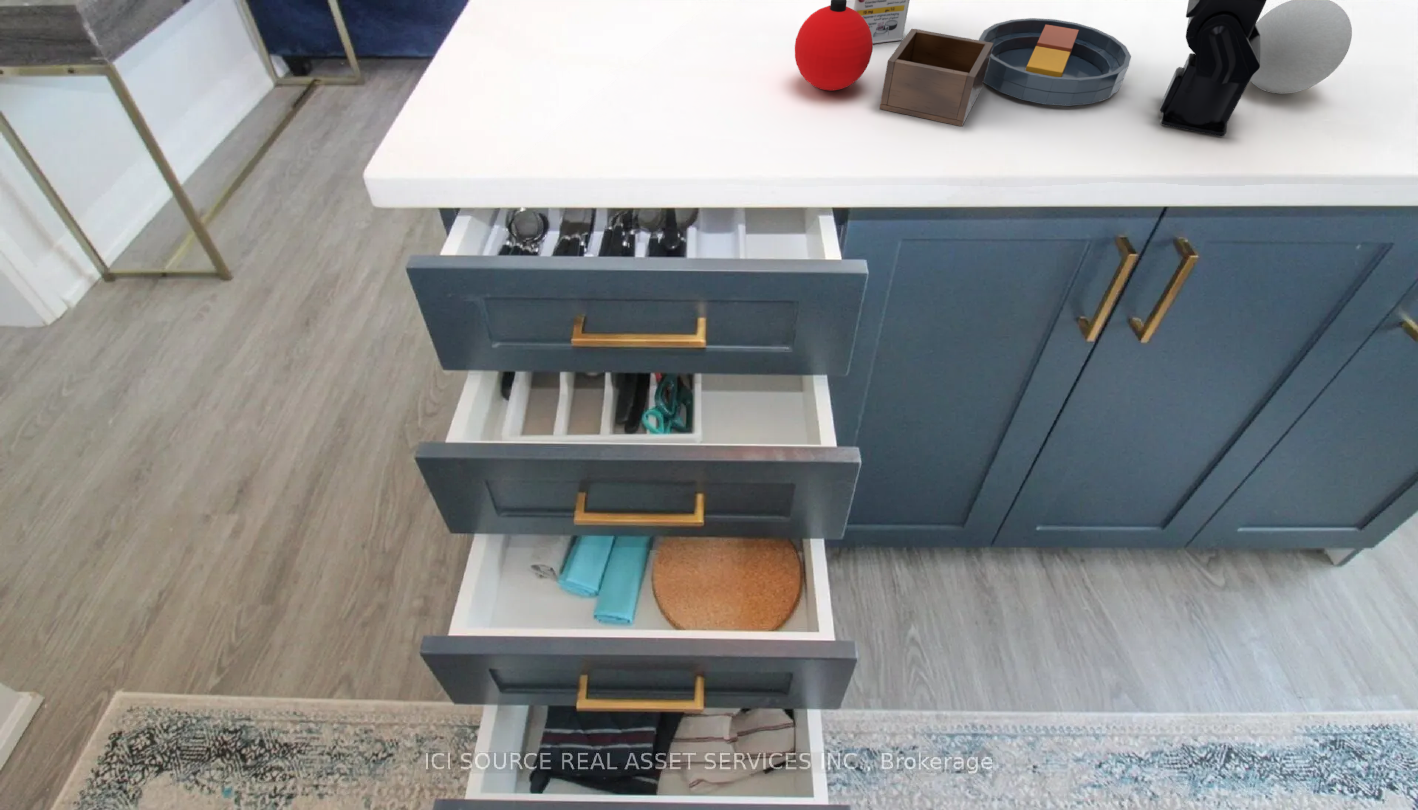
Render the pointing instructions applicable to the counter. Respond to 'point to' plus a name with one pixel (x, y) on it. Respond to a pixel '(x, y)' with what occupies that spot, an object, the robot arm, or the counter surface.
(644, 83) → the counter surface
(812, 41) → the ornament
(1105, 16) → the counter surface
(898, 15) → the container
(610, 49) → the counter surface
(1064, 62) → the yellow block
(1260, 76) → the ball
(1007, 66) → the bowl
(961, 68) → the holder
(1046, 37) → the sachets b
